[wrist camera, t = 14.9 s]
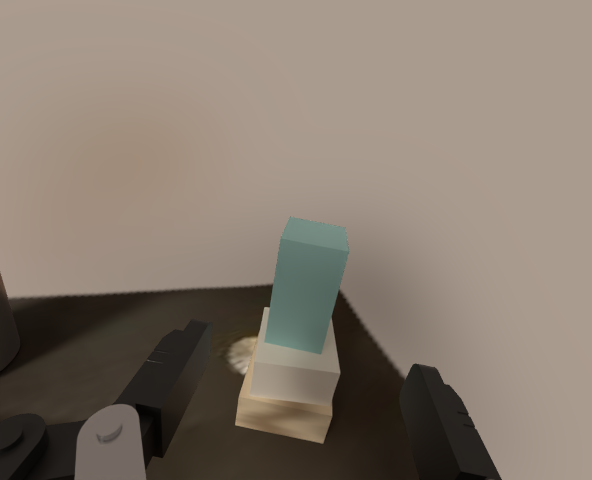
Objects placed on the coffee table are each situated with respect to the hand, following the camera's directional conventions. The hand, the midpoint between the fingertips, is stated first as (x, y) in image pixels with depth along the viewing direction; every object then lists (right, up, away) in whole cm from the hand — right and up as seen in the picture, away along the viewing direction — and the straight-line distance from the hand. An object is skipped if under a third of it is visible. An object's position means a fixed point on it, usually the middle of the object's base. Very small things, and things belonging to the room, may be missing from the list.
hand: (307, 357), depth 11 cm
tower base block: (-2, -11, +18) cm, 21 cm away
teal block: (0, -4, +15) cm, 16 cm away
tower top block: (-1, -8, +16) cm, 18 cm away
